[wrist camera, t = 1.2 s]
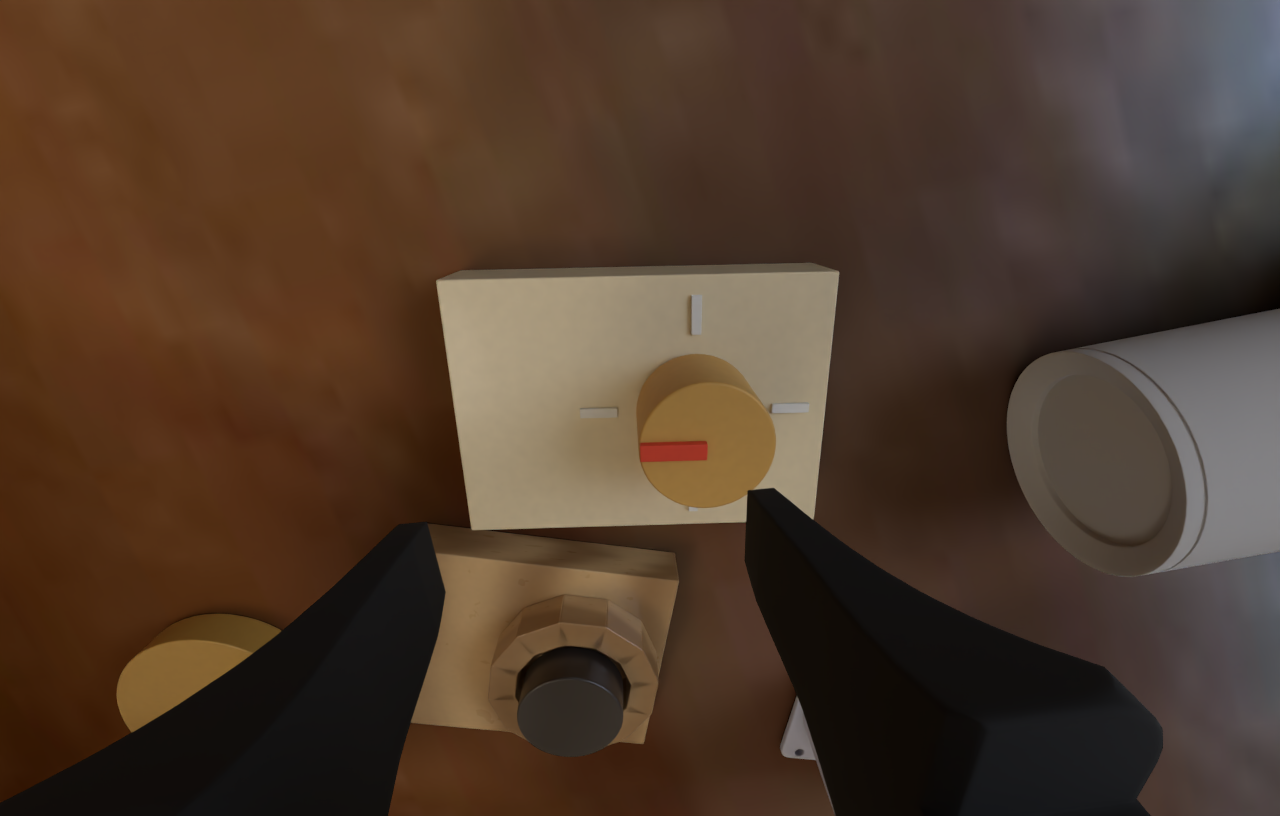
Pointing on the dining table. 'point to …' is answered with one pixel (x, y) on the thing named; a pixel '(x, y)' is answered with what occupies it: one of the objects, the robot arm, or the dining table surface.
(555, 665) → the button
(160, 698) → the bracelet display stand
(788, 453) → the dimmer panel
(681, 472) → the dimmer knob
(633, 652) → the switch box
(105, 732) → the dining table surface
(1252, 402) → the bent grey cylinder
